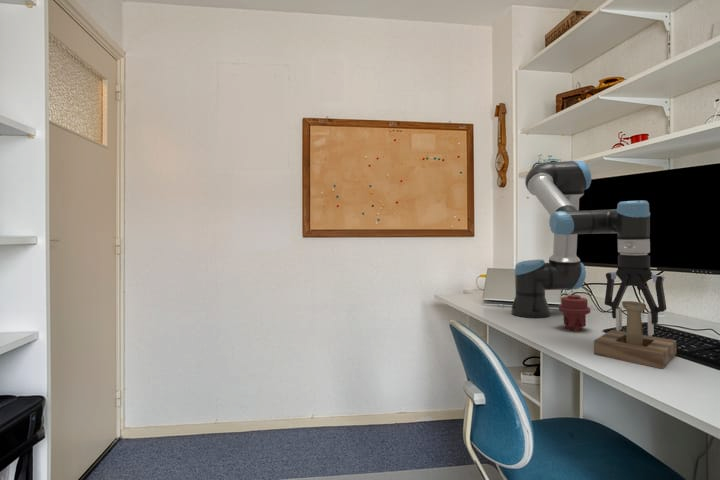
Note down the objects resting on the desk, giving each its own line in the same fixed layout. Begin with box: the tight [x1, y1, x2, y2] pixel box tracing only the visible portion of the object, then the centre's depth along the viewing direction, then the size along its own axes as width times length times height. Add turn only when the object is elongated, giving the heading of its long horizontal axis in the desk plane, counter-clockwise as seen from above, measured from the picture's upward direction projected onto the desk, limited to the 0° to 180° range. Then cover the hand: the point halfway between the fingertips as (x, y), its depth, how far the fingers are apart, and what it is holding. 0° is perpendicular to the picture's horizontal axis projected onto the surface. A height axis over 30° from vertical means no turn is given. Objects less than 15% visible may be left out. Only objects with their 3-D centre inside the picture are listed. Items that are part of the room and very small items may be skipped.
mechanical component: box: [558, 294, 591, 332], centre depth 134 cm, size 12×10×10 cm
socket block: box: [593, 329, 677, 370], centre depth 107 cm, size 16×16×4 cm
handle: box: [621, 300, 647, 346], centre depth 107 cm, size 5×6×15 cm
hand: (634, 332), depth 107 cm, fingers open, 7 cm apart
